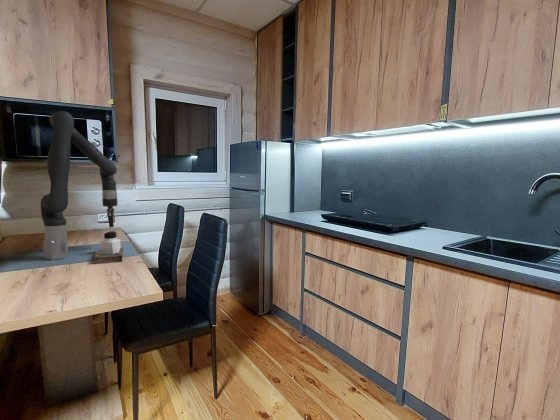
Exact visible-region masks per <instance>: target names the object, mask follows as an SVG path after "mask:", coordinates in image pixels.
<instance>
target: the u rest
mask: <svg viewBox="0 0 560 420" xmlns="http://www.w3.org/2000/svg"><path fill="white" fill-rule="evenodd" d="M123 256H124V248H123V247H120V250H119V252H118V253H116V254H101V249H97V251H96V252H95V256H94V258H93V262H94V263H93V264H94V265H98V264H99V265H100V264H109V263H110V264H112V263H120V262H121V263H122V262H123Z"/></svg>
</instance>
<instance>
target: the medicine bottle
mask: <svg viewBox="0 0 560 420" xmlns="http://www.w3.org/2000/svg"><path fill="white" fill-rule="evenodd" d="M99 244H100V250H101V255H106V254H118V253H119V250H120V248H121V239H117V232H116V231H113V230H112V231H105V232H104V233H103V240H101V241H100V242H99Z"/></svg>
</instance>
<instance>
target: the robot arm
mask: <svg viewBox="0 0 560 420" xmlns="http://www.w3.org/2000/svg"><path fill="white" fill-rule="evenodd" d="M49 123H50V125H51V127H53V137H52V140H51V143H50V146H49V150H48V153H47V161H46V168H47V173H48V177H49V180H50V189H49V193H47V194H45V195H44V196H42V197H41V200H40V213H41V220H42V221H43V222H42V223H43V228H44V240H42V245H43V258H44V260H50V261H55V260H61V259H65V258H68V257H69V246H68V229H67V219H66V218H65V217H64V215H63V212H64V211H66V209H67V208H68V205H69V192H68V189H69V186H68V184H69V176H70V174H69V172H70V165H71V150H72V148H71V145H72V144H71V143H73V145H75V147H77V148H78V149H79V151H80V152H82V154H83V155H84V156H85V157H86V158H87V159H89V161H91V163H92V164H95V165H96V166H97V167H99V174H100V175H99V176H100V179H101V189H102V192H101V196H102V206H103V207H107V208H106V210H105V211H106V217H107V220H108V227H109V228H114V219H115V208H114V207H117V206H118V193H117V183H116V180H115V178H114V177H115V176H114V175H116V173H117V172H118V171H117V170H118V169H117V166H116V165H115V164H114V163H113V162H112V160H110V159H109V158H108V157H107V156H105V155H104V154H103V152H101V151H100V150H99V149H98V147H97V146H96V145H94V144H93V143H92V142H91V141H89V139H88V138H86V137H84V136H83V135H82V134H81V133H80V131H78V130H77V129H76V128H75V119H74V117H73V115H72V114H71V113H70V112H68V111H66V110H59V111H56V112H54V113H52V114H51V115H50V117H49Z"/></svg>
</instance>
